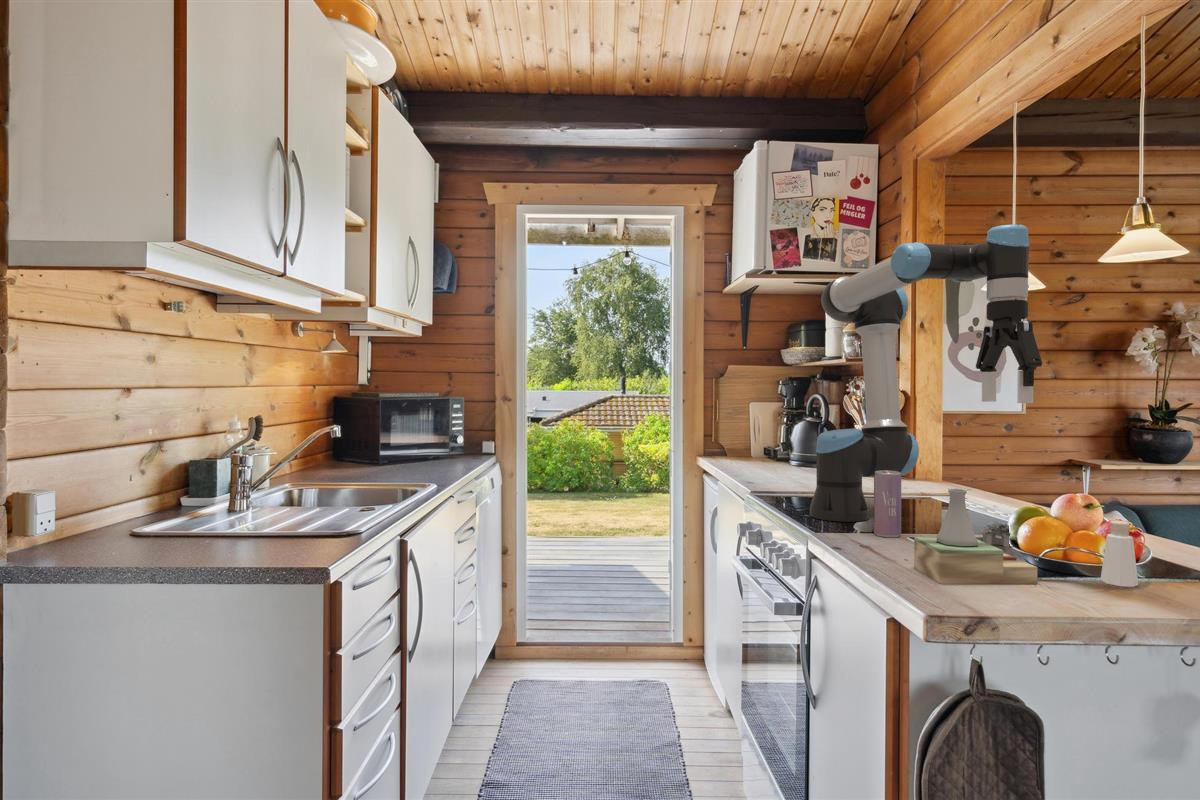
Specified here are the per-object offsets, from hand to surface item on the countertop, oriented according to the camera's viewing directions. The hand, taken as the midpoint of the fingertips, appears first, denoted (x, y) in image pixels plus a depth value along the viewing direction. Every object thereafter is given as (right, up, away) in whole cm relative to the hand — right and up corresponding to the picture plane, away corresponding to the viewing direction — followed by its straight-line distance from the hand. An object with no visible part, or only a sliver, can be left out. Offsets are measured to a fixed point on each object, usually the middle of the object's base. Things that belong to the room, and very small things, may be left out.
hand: (1006, 402), depth 145 cm
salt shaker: (+8, -32, -22) cm, 40 cm away
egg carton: (+6, -32, +11) cm, 34 cm away
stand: (-16, -32, -16) cm, 39 cm away
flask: (-19, -26, -16) cm, 36 cm away
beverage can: (-17, -32, +18) cm, 40 cm away
